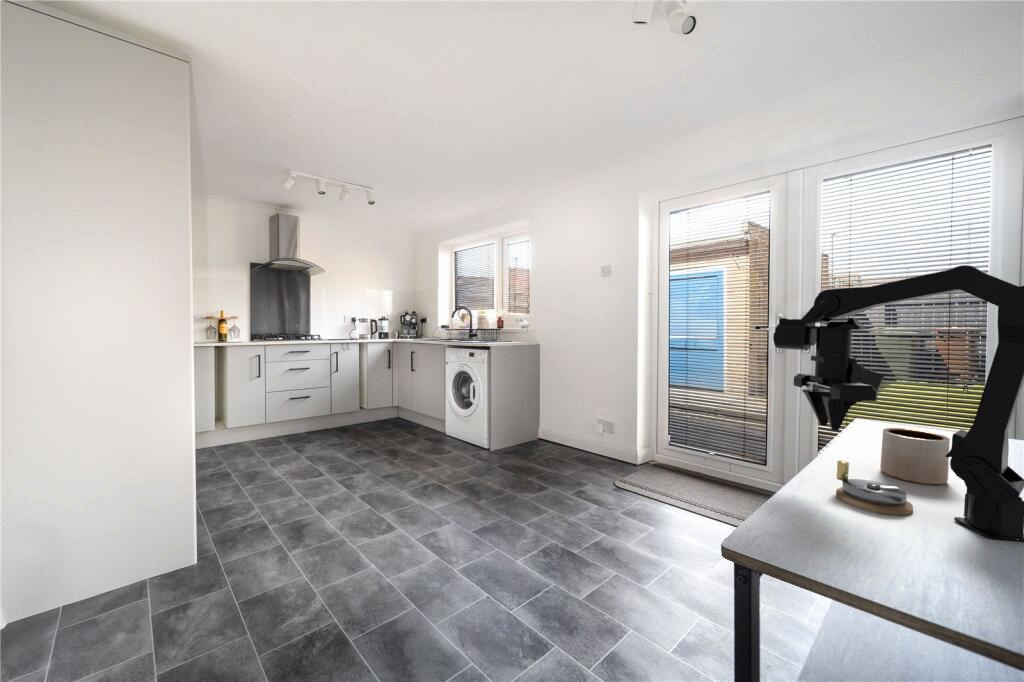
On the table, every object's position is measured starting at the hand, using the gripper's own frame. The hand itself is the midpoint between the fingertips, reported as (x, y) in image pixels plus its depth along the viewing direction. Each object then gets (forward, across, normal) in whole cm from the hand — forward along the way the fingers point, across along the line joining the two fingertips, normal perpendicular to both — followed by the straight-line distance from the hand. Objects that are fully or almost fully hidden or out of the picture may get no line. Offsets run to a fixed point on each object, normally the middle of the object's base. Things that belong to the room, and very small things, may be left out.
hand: (829, 427), depth 88 cm
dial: (+11, -7, -4) cm, 14 cm away
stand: (+12, -8, -4) cm, 15 cm away
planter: (+12, +10, -22) cm, 27 cm away
